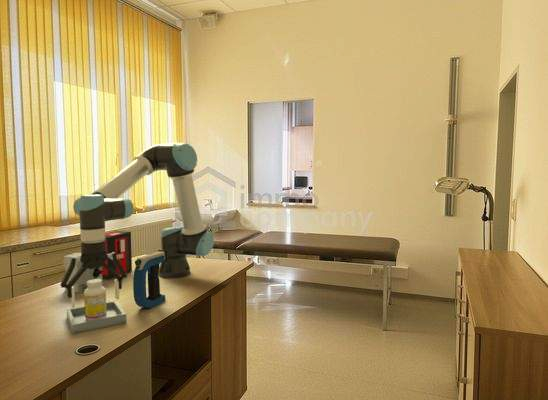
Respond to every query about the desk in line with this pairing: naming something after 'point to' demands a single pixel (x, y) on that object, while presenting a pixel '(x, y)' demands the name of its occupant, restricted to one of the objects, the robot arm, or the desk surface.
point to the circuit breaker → (85, 277)
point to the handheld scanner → (139, 279)
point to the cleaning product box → (118, 252)
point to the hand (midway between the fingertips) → (95, 302)
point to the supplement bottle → (95, 300)
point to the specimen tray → (82, 325)
